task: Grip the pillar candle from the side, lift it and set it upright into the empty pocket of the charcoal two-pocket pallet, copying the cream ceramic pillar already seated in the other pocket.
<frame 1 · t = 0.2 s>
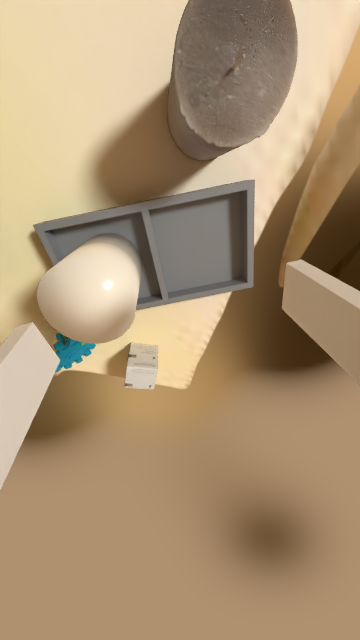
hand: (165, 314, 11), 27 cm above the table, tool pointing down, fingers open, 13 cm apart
pallet: (156, 253, 37), on the table
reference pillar: (112, 264, 36), point 1 cm above the table, touching pallet
pillar candle: (203, 117, 28), on the table
gear: (77, 339, 44), on the table
skincare box: (142, 353, 48), on the table
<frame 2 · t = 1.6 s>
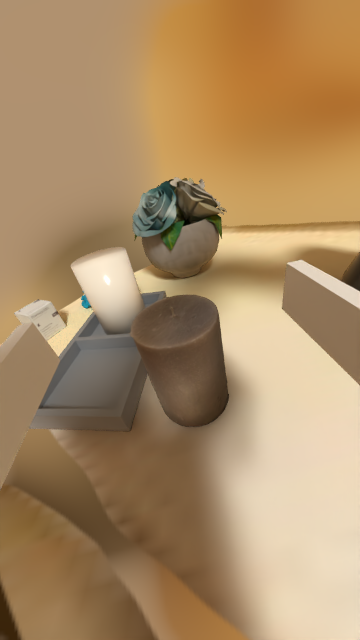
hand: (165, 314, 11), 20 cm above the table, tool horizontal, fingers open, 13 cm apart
flower arrangement: (186, 272, 66), on the table
pallet: (116, 350, 42), on the table
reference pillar: (126, 322, 47), point 1 cm above the table, touching pallet
pillar candle: (193, 394, 31), on the table
gear: (97, 303, 61), on the table
skincare box: (50, 332, 53), on the table
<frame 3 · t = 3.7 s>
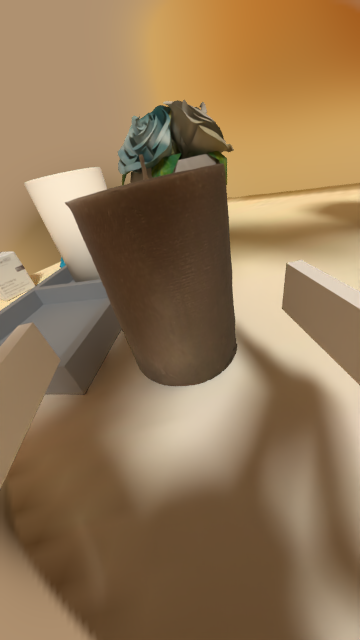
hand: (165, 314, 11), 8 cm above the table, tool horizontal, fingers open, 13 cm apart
flower arrangement: (185, 233, 56), on the table
pallet: (88, 304, 32), on the table
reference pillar: (105, 276, 38), point 1 cm above the table, touching pallet
pillar candle: (184, 347, 21), on the table
skincare box: (16, 293, 43), on the table
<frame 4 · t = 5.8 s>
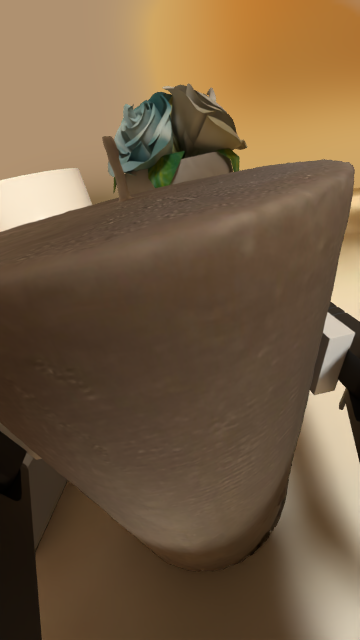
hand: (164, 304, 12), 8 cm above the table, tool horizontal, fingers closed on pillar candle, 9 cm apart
flower arrangement: (187, 244, 49), on the table
pallet: (65, 347, 25), on the table
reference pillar: (91, 305, 30), point 1 cm above the table, touching pallet
pillar candle: (198, 450, 13), on the table, touching gripper
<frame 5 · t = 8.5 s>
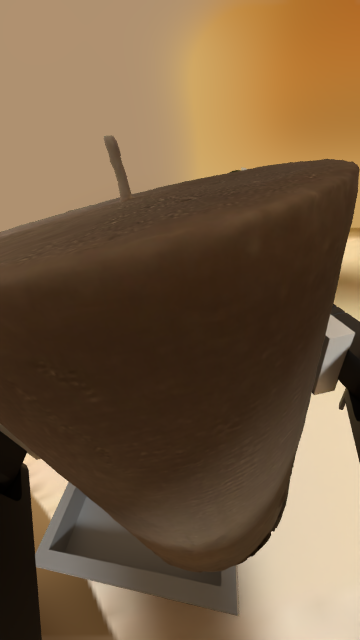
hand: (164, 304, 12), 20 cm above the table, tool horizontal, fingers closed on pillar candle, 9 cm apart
pallet: (170, 411, 29), on the table
pillar candle: (199, 450, 13), point 12 cm above the table, touching gripper
when the fingers open (10 cm above the table, at t = 11.3 s): pillar candle drops 1 cm, resting on pallet.
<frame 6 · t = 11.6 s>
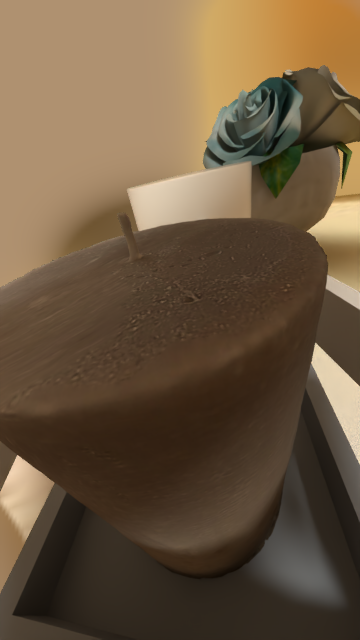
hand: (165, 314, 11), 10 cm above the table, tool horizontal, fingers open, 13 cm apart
flower arrangement: (264, 248, 45), on the table
pallet: (206, 376, 21), on the table
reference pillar: (207, 321, 26), point 1 cm above the table, touching pallet
pillar candle: (198, 462, 14), point 1 cm above the table, touching pallet
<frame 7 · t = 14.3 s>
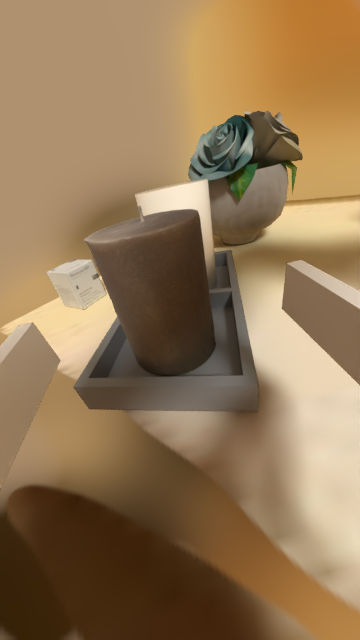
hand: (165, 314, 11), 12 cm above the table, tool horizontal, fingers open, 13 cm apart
flower arrangement: (239, 240, 56), on the table
pallet: (184, 314, 32), on the table
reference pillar: (188, 285, 38), point 1 cm above the table, touching pallet
pillar candle: (174, 345, 26), point 1 cm above the table, touching pallet
skincare box: (86, 301, 43), on the table
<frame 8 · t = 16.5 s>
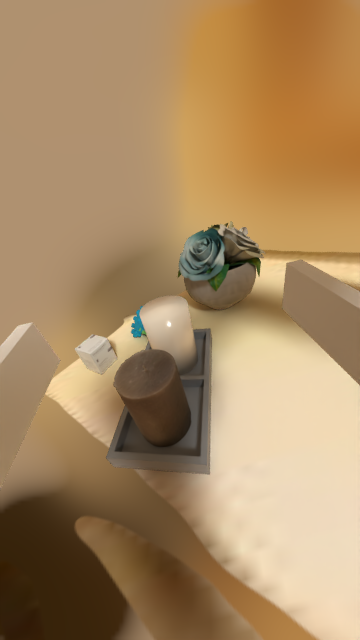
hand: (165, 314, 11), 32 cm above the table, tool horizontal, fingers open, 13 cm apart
flower arrangement: (221, 303, 70), on the table
pallet: (173, 388, 46), on the table
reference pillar: (177, 359, 52), point 1 cm above the table, touching pallet
pillar candle: (165, 420, 40), point 1 cm above the table, touching pallet
gear: (144, 332, 66), on the table
skincare box: (102, 364, 57), on the table
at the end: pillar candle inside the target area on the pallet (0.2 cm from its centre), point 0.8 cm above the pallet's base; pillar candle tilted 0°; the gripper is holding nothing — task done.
